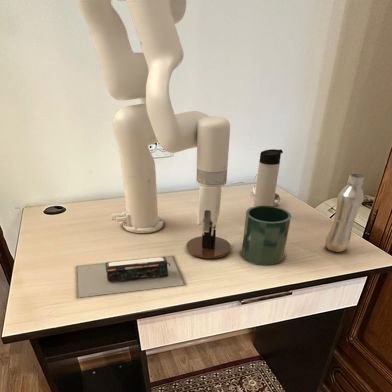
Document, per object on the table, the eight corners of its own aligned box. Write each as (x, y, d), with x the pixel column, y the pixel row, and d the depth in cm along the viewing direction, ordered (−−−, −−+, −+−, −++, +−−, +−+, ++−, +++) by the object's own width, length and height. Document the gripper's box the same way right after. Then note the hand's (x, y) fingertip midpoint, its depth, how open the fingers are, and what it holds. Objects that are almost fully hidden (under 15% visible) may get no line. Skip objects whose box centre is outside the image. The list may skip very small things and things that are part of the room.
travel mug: (273, 220, 119) (284, 152, 106) (253, 219, 119) (261, 152, 106) (270, 212, 124) (281, 147, 111) (251, 212, 124) (259, 146, 111)
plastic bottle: (347, 246, 106) (370, 173, 93) (346, 256, 101) (370, 181, 88) (324, 242, 108) (344, 170, 94) (322, 252, 103) (343, 177, 90)
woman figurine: (260, 196, 122) (240, 183, 136) (259, 210, 125) (240, 195, 139) (291, 194, 125) (269, 181, 138) (289, 207, 128) (268, 193, 141)
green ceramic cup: (249, 267, 96) (255, 224, 88) (236, 247, 104) (240, 207, 97) (290, 262, 98) (299, 221, 90) (273, 243, 106) (280, 204, 99)
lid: (191, 262, 97) (191, 242, 93) (182, 241, 106) (182, 222, 103) (236, 257, 100) (238, 238, 96) (223, 238, 109) (224, 219, 105)
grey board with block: (183, 284, 89) (183, 269, 86) (78, 297, 84) (74, 281, 81) (172, 257, 99) (171, 242, 96) (77, 266, 94) (74, 251, 91)
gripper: (201, 165, 96) (200, 232, 109) (190, 185, 84) (190, 257, 97) (230, 167, 95) (225, 234, 108) (222, 188, 83) (218, 260, 96)
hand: (208, 245), depth 102 cm, fingers closed on lid, 2 cm apart
